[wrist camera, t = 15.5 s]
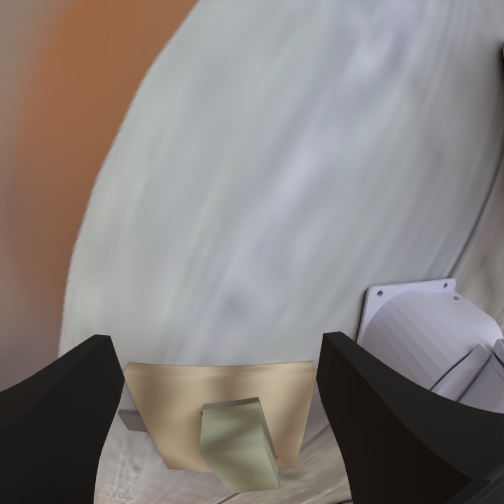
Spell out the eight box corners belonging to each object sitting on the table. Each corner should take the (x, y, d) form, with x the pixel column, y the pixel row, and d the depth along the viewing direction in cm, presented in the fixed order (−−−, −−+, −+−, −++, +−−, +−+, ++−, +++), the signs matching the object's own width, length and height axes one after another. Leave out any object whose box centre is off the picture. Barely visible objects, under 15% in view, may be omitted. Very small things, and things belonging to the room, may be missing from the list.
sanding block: (258, 396, 19) (264, 447, 14) (274, 448, 22) (280, 487, 17) (203, 404, 19) (199, 453, 15) (230, 453, 22) (231, 492, 17)
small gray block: (146, 408, 22) (144, 415, 21) (155, 425, 23) (153, 432, 22) (120, 406, 22) (117, 412, 21) (130, 423, 23) (128, 429, 22)
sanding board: (312, 360, 20) (316, 372, 19) (293, 458, 25) (295, 467, 24) (128, 362, 19) (123, 374, 18) (170, 459, 25) (168, 468, 23)
